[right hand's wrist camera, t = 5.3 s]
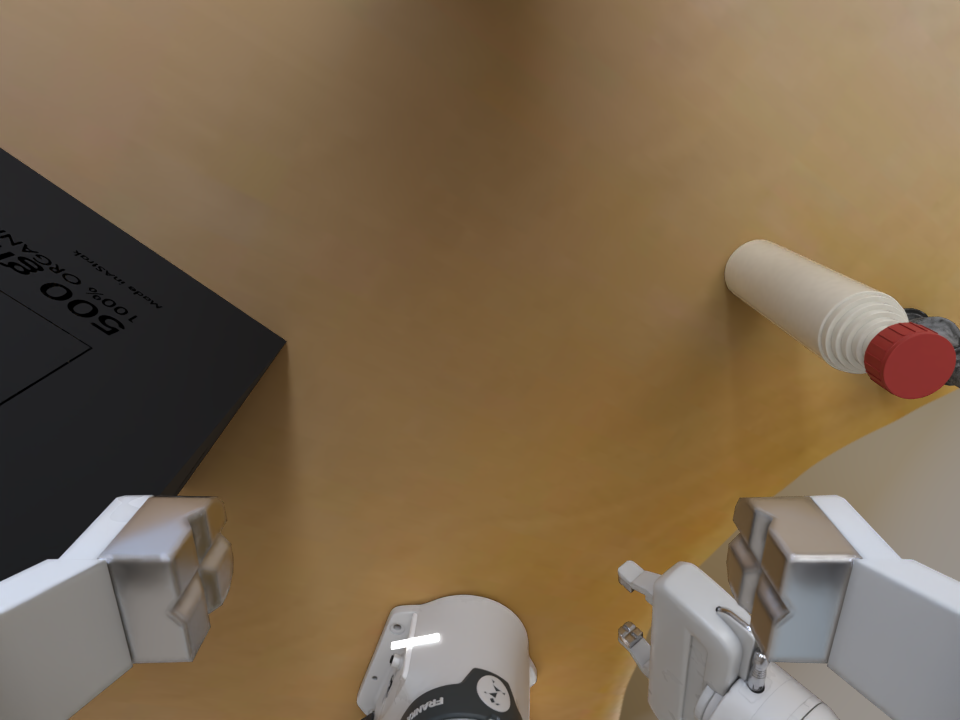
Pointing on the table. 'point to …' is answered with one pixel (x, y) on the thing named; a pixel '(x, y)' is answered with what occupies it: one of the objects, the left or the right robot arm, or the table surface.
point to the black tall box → (102, 368)
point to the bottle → (812, 302)
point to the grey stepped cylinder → (944, 329)
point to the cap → (909, 360)
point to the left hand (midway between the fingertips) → (622, 600)
